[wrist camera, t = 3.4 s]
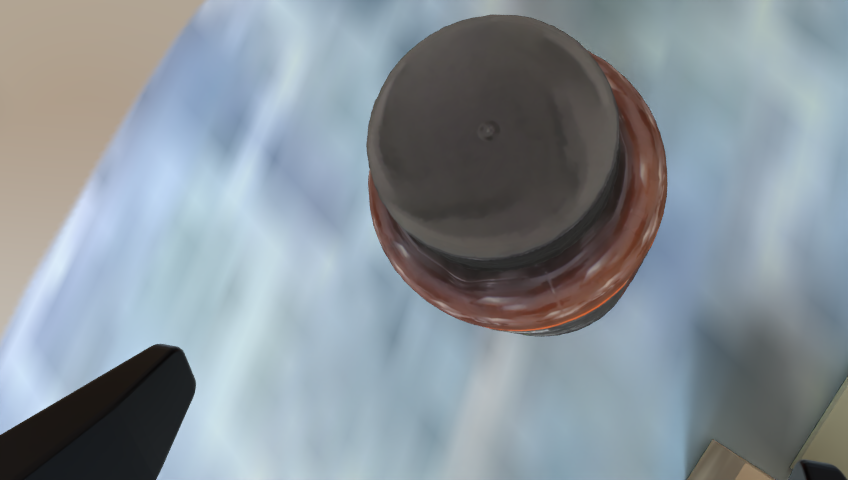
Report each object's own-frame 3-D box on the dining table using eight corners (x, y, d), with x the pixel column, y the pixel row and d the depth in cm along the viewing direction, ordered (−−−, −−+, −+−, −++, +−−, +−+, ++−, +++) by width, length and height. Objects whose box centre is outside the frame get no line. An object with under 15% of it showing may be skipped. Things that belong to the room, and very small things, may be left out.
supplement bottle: (573, 120, 21) (559, -122, 10) (678, 276, 20) (792, 185, 9) (418, 214, 22) (253, 83, 11) (507, 372, 20) (417, 399, 9)
